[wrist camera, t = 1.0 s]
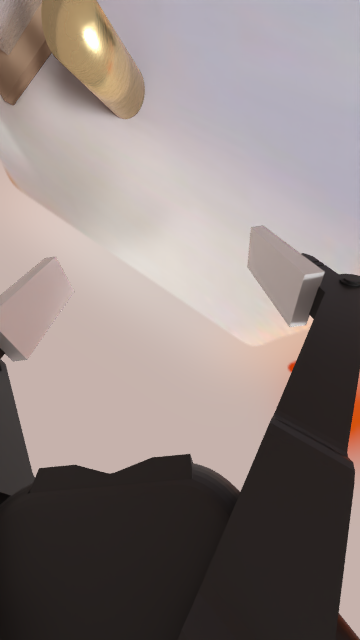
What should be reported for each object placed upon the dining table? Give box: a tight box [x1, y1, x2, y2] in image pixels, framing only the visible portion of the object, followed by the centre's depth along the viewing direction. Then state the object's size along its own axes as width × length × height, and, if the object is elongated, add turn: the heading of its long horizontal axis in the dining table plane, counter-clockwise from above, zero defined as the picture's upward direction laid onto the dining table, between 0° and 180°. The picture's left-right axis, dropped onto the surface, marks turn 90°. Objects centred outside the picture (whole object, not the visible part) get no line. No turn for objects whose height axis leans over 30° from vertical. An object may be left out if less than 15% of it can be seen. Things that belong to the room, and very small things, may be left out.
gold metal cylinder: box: [41, 0, 145, 119], centre depth 24 cm, size 6×6×11 cm
